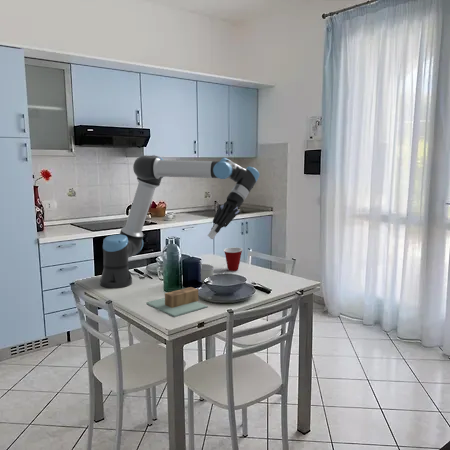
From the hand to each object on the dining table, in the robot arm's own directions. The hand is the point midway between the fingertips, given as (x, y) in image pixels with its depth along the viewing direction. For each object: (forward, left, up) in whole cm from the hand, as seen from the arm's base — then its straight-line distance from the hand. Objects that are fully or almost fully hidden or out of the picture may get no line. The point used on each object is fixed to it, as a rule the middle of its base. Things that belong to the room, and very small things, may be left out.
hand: (210, 237), depth 189 cm
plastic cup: (-25, +39, -27) cm, 53 cm away
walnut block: (+2, -11, -23) cm, 26 cm away
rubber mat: (+2, -20, -27) cm, 34 cm away
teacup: (-18, +10, -27) cm, 33 cm away
